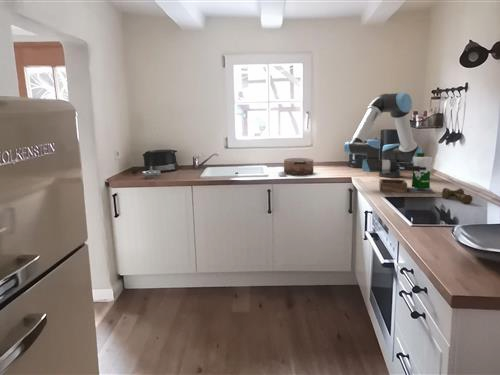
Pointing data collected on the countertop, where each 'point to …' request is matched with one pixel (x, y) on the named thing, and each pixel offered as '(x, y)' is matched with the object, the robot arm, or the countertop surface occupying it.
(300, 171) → the wicker basket
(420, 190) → the rubber mat
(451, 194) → the kendama
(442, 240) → the countertop surface
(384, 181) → the collar
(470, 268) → the countertop surface
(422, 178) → the soya milk
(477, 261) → the countertop surface
